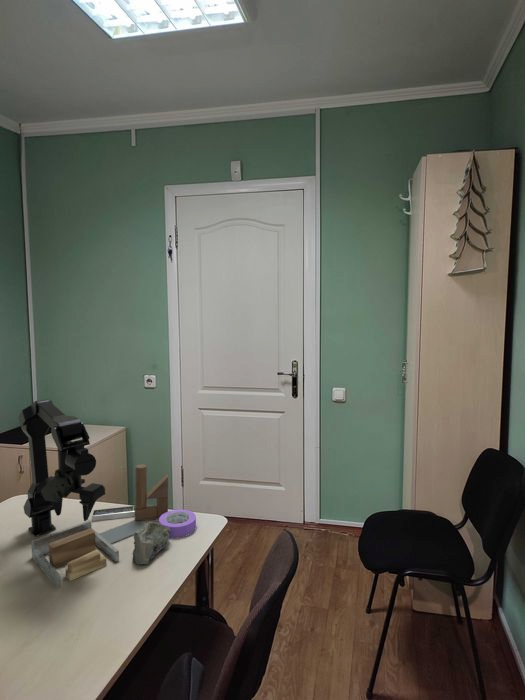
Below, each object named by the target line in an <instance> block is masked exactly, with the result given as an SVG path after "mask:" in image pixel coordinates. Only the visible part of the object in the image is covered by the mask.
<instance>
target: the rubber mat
mask: <svg viewBox="0 0 525 700" xmlns="http://www.w3.org/2000/svg"><path fill="white" fill-rule="evenodd" d="M146 524H147V523H146ZM146 524H145V523H144V522H143V520H135V519H133V520H132V521H128V522H126V523H124V524H121V525H118V526H115V527H113V528H110V529H108V530H105V531H102V532H98V534H100V535H101V536H102V537H103V538H104V539H105V540H107V541H108V542H109V543H110V544H111V545H114V544H116V543H119V542H120V541H121V542H122V541H123V540H126V539H128V538H131V537H134V533H135V532H136V531H138V530H139V529H141V528H142V527H144V526H145V525H146Z"/></svg>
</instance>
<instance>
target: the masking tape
mask: <svg viewBox="0 0 525 700" xmlns="http://www.w3.org/2000/svg"><path fill="white" fill-rule="evenodd" d="M158 523H160V524H163V525H164V526H165V527H166V528H171V531H170V535H169V538H172V539H175V538H176V539H178V538H177V537H179V538H184V537H186V535H187V536H189V535H190V533H191V532H192V533H194V532H195V531H196V529H195V528H197V515H196V513H194V512H193V511H191V510H188V509H173V510H168V512H166V513H164V514H162V515H161V516H160V518H159V519H158ZM193 531H194V532H193ZM192 533H191V534H192ZM188 534H189V535H188ZM183 536H184V537H183Z"/></svg>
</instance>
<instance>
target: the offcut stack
mask: <svg viewBox="0 0 525 700" xmlns="http://www.w3.org/2000/svg"><path fill="white" fill-rule="evenodd" d="M66 564H67V568H65V571H64V572H65V577H66V578H67V579H68V581H70V582H71V581H73V580H75V579H78V578H80V577H82V576H85V575H88V574H89V573H91V572H93V571H97V570H98V569H100V568H103V567H105V566H107V557H106V556H104V555H103V554H102V553H100V552H99V551H97V549H96V550H94V551H92V552H90V553H88V554H86V555H84V556H82V557H79V558H77V559H75V560H72V561H70V562H68V563H66Z"/></svg>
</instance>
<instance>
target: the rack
mask: <svg viewBox="0 0 525 700" xmlns="http://www.w3.org/2000/svg"><path fill="white" fill-rule="evenodd" d="M90 528H91V529H92V530H93V531H94V532H95V543H96V546H97V547H99V549H100V550H101V551H103V553H105V554H106V555H107V556H108V557H110V559H112V560H113V561H114V562H115V563H117V562H119V561H120V552H119V551H120V550H119V549H117V548H116V547H115V546H114V544H110V543H109V542H108V541H107V540H105V539H104V538H103V537H102V536H101V535H100V534H99V532H98V531H96V530H95V529H94V528H92V520H89V519H88V520H87V521H83V522H81V523H78V524H76V525H73V526H70V527H67V528H65V529H61V530H58V531H56V532H54V533H50V534H48V535H45V536H41V537H40V538H36V539H33V540H31V542H30V543H31V546H30V547H31V557H32V558H31V559H33V561H35V563H36V564H37V565H38V566H39V568H40V569H41V570H42V571H43V573H44V574H45V576H47V578H48V579H49V580H50V582H51V583H52V584H54V585H55V587H56V588H60V587H61V586H62V579H61V573H59V572H58V571H57V570H56V567H55V568H54V567H53V566H52V565H51V564H50V562H49V560H48V559H47V558H46V557H45V555H49V546H48V544H50V543H52V542H55V541H58V540H60V539H63V538H66V537H68V536H71V535H74V534H77V533H79V532H82V531H85V530H87V529H90Z"/></svg>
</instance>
